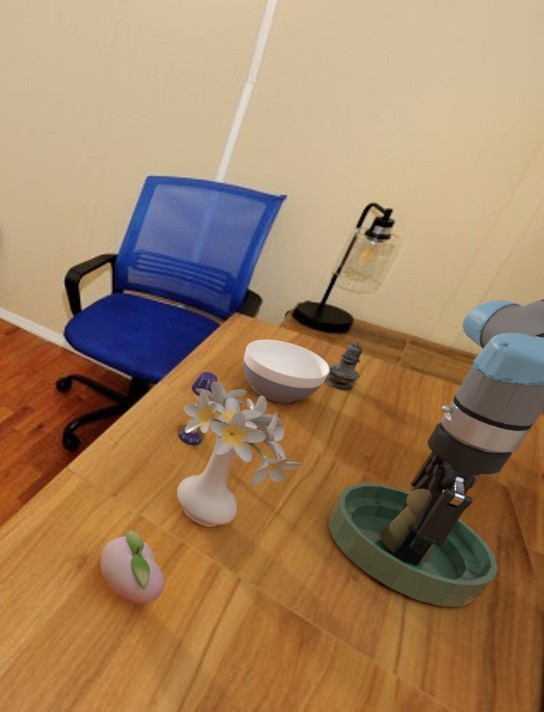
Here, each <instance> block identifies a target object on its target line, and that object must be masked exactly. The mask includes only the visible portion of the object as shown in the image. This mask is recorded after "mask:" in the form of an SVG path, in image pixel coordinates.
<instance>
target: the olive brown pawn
mask: <svg viewBox="0 0 544 712" xmlns="http://www.w3.org/2000/svg"><path fill="white" fill-rule="evenodd" d="M429 496H430V491H429V490H427V489H417V490H414V491H412V492H410V491H409V495H408V497H407V501H406V502H407V507H406V508H405V509H404V510H403V511H402V512H401V513H400V514H399V515H398V516H397V517H396V518H395V519H394V520H393V521H392V522H391V523H390V524H389V525H388V526H387V527H386V528H385V529H384V530H383V531H382V532H381V534H380V537H381V540H382V542H383V543H384V545H385V546H386V547H387V548H388V549H389V550H391V551H392V552H393V553H394V552H395V550H396V549H397V547H398V546H399V544H400V542H401V541H402V539H403V538H404V536H405V535H406V533H407V532H408V530H407V526H408V524H409V525H412V526H415V525H416V523H417V521H418V519H419V517H420V515H421V512H422V510H423V508H424V506H425V504H426V502H427V500H428V498H429ZM434 546H435V545H434V544H432V545H431V546H430V548H429V549H428V551H427V552H426V554H425V555H424V557H423V558H422V560H421V561H420V562H419V563H425V562H427V561H429V559H430V556H431V554H432V551H433V548H434Z"/></svg>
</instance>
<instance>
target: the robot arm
mask: <svg viewBox="0 0 544 712" xmlns="http://www.w3.org/2000/svg"><path fill="white" fill-rule="evenodd" d="M462 329H463V333H464V334H465V335H466V336H467V337H468V338H469V339H470V340H471V341H473V342H474V343H475V344H476V345H477V346H479V347H480V348H482V349H481V351H480V353H479V354H477V355H476V356H475V358H474V360H473V363H472V365H471V367H470V368H469V370H468V372H467V374H466V375H465V378H464V379H463V381H462V383H461V385H460V386H459V388H458V390H457V391H456V393H455V395H454V397H453V399H452V400H451V403H450V404H449V405H442V407H441V412H443V415H442V417H441V419H440V422H439V423H437V424H436V426H435V428H434V429H433V431H432V433H430V436H429V437H428V439H427V446H428V448H429V450H430V451H431V452H430V453H429V455H428V456H427V458H426V459H425V461H424V462H423V464H422V466H421V467H420V469H419V470H418V472H417V473H416V475H415V476H414V477H413V479H412V481H410V486H411V487H412V489H411V490H410V491H409V493H410V492H412V491H414V490H417V489H427V490H429V491H430V496H429V498H428V500H427V502H426V504H425V506H424V508H423V510H422V512H421V515H420V517H419V519H418V521H417V523H416V525H415V526H412V525H409V524H408V526H407V530H408V532H407V533H406V535H405V536H404V538H403V539H402V541H401V542H400V544H399V546H398V547H397V549H396V550H395V552H394V557H397V558H399V559H401V560H404V561H406V562H408V563H411V564H413V565H415V566H417V565H418V564H419V562H420V561H421V560H422V558H423V557H424V555H425V554H426V552H427V551H428V549H429V548H430V546H431V545H432V544H434V545H436V546H439V547H441V545H442V544H443V542H444V541H445V539H446V538H447V536H448V535H449V533H450V531H451V530H452V528H453V527H454V525H455V524H456V522H457V521H458V519H461V518H460V517H462V514H463V513H464V511H465V510H467V508H469V506H471V505H472V504H473V501H474V500H473V497H472V496H469V495H467V493H468V491H469V490H470V489H472V488H473V487H474V484H475V483H476V479H475V477H473V476H474V475H480V476H482V475H486V476H487V475H488V476H489V475H496V474H497V473H499V472H501V471H502V469H503V467H504V466H505V465H506V463H507V462H508V461H509V460H510V458H511V457H512V454H513V452H514V451H516V450H517V449H518V448H519V446H520V445H521V444H522V443H523V441H524V440H525V438H526V437H527V435H528V434H529V432H530V431H531V429H532V427H533V426H534V425H535V423H536V422H537V420H538V419H539V417H540V416H541V415H542V413H544V298H542V299H540V300H536V301H533V302H531V303H528V304H525V305H522V304H520V303H516V302H512V301H509V300H501V299H499V300H489V301H485V302H483V303H480V304H479V305H476V306H475V307H474V308H472V309H471V310H470V311H469V312H468V313H467V314H466V315H465V316H464V319H463V321H462ZM406 507H407V502H406V503H405V505H404V506H403V508H402V509H401V511H400V513H401V512H402V511H403V510H404V509H405V508H406ZM400 513H399V514H400ZM399 514H398V515H399Z"/></svg>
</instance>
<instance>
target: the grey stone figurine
mask: <svg viewBox="0 0 544 712" xmlns="http://www.w3.org/2000/svg"><path fill="white" fill-rule="evenodd" d="M363 351H364V349H363V347H362V346H361V345H360V343H359V341H357V342H355V343H350V344H348V345H347V346H346V349H345V351H344V352H343V353H342V354H341V355H340V360H339V363H338V364H330V365H328V366H329V373H328V375H329V376H327V377H326V379H325V381H324V382H325V383H326V384H327V385H328V386H331V387H332V388H335V389H338V390H341V391H351V390H352V389H353V384H352V383H354V382H356V381H357V380H358V379H359V378H360V377H361V375H360V373H359V372H358V371H357V370H356V367H357V365H358V364H359V363H360V362H361V360H360V358H361V355H362V353H363Z"/></svg>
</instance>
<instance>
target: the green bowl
mask: <svg viewBox="0 0 544 712" xmlns="http://www.w3.org/2000/svg"><path fill="white" fill-rule="evenodd" d="M409 493H410V491H407V490H404V489H401V488H398V487H394V486H390V485H385V484H380V483H365V482H364V483H362V482H361V483H357V484H352V485H349V486H347V487H346V488H344V490H343V491H342V492H341V493H340V494H339V496H338V497H337V500H336V502H335V503H334V504H333V507H332V509H331V510H330V512H329V514H328V523H327V524H328V525H327V526H328V527H327V528H328V530H329V531H330V534H331V536H332V539H333V540H334V542H335V543H336V545H337V546H338V547H339V548H340V549H341V551H342V552H343V554H344V555H345V556H346V557H347V558H348V559H349V560H351V561H352V562H353V563H354V564H355V565H356V566H357V567H358V568H360V569H361V570H362V571H363V572H364V573H366V574H367V575H369V576H370V577H372V578H374V579H375V580H377V581H378V582H380V583H381V584H383V585H385V586H386V587H387V588H389V589H392V590H393V591H396V592H398V593H400V594H401V595H402V594H403V595H405V596H407V597H410V599H414V600H416V601H420V602H423V603H428V604H431V605H435V606H439V607H453V608H454V607H456V608H460V607H464V606H466V605H468V604H469V605H470V604H472V603H474V602H476V601H477V599H478V598H479V597H480V596H481V594H482V593H483V592H484V591H485V590H486V588H487V587H489V585H490V584H491V583H492V581H493V580H494V578H495V576H496V574H497V573H498V570H499V568H498V564H497V560H496V556H495V553H494V552H493V551H492V550H491V548H490V546H489V545H488V544H487V543H486V541H485V540H484V538H482V537H481V536H480V534H478V533H477V532H476V531H475V530H474V529H473V528H472V527H471V526H470V525H468V524H467V523H466V522H464V521H463V520H462V519H461V518H459V519H458V521H457V522H456V524H455V525H454V527H453V528H452V530H451V531H450V533H449V535H448V536H447V538H446V539H445V541H444V542H443V544H442V545H441V547H439V546H436V545H435V546H434V548H433V551H432V554H431V556H430V559H429V561H427V562H425V563H419V564H418V565H417V566H415V565H413V564H411V563H408V562H406V561H404V560H401V559H399V558H397V557H394V553H393V552H392V551H391V550H389V549H388V548H387V547H386V546H385V545H384V543H383V542H382V540H381V537H380V534H381V532H382V531H383V530H384V529H385V528H386V527H387V526H388V525H389V524H390V523H391V522H392V521H393V520H394V519H395V518H396V517H397V516H398V514H399V513H400V511H401V509H402V508H403V506H404V505H405V503H406V501H407V497H408V495H409Z"/></svg>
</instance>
